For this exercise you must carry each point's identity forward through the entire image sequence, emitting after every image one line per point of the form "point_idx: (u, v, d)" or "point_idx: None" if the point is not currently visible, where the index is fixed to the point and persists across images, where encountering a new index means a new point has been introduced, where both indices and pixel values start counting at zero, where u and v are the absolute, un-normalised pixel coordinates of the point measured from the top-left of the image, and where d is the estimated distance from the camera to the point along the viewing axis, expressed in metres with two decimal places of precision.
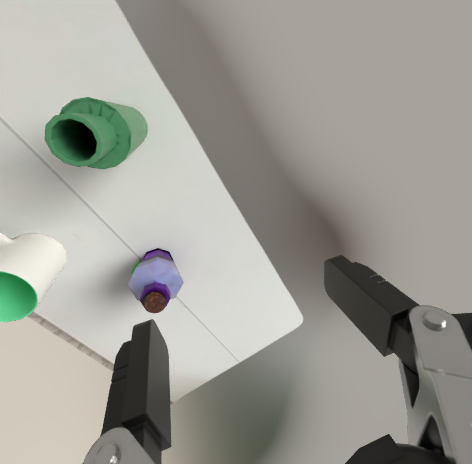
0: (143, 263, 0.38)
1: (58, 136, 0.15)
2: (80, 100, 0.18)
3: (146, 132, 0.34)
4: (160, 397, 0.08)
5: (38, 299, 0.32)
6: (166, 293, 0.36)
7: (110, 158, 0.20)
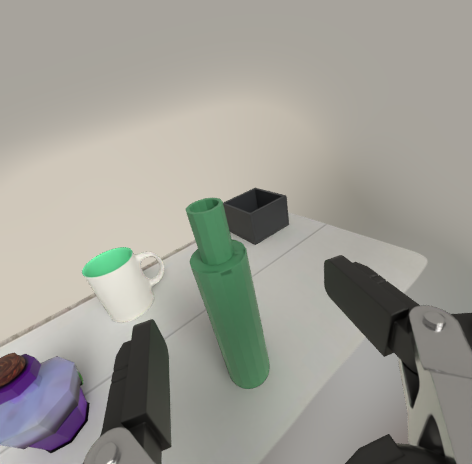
0: (76, 377, 0.28)
1: None
2: (242, 245, 0.23)
3: (244, 380, 0.28)
4: (160, 397, 0.08)
5: (92, 278, 0.37)
6: (4, 390, 0.23)
7: (198, 263, 0.21)
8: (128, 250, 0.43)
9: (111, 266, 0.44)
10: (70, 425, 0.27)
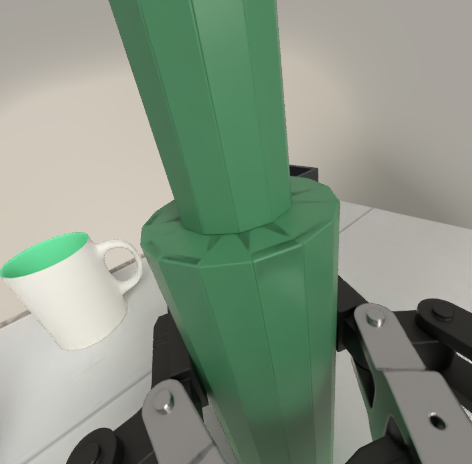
0: None
1: None
2: (313, 182, 0.07)
3: None
4: None
5: (10, 280, 0.22)
6: None
7: (168, 233, 0.06)
8: (84, 236, 0.27)
9: (61, 262, 0.29)
10: None
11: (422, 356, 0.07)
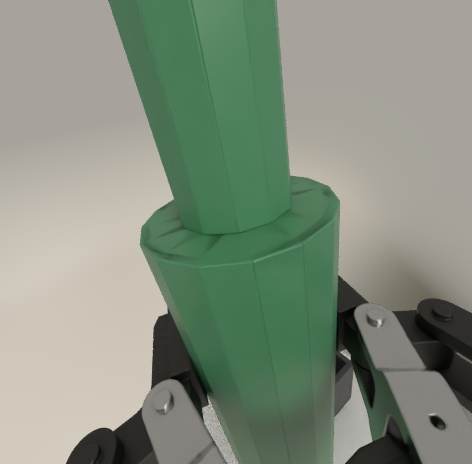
0: None
1: None
2: (313, 181, 0.07)
3: None
4: None
5: None
6: None
7: (167, 233, 0.06)
8: None
9: None
10: None
11: (422, 356, 0.07)
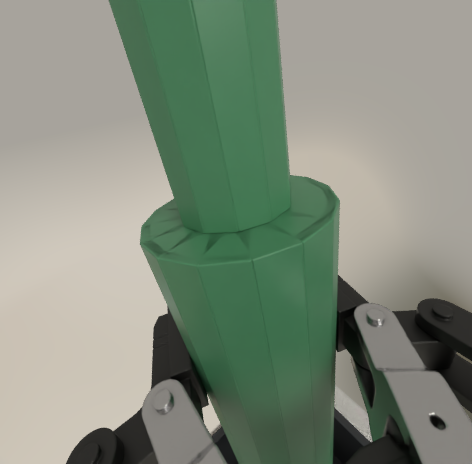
0: None
1: None
2: (313, 181, 0.07)
3: None
4: None
5: None
6: None
7: (167, 232, 0.06)
8: None
9: None
10: None
11: (422, 356, 0.07)
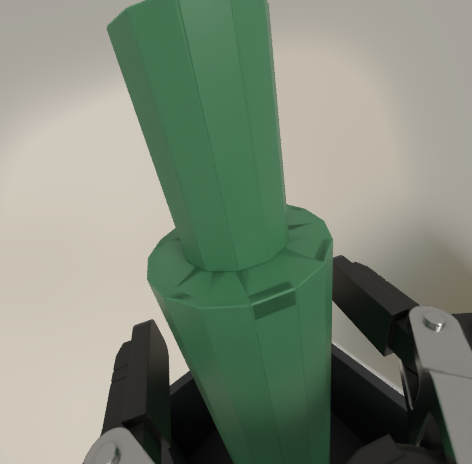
0: None
1: None
2: (309, 214, 0.07)
3: None
4: (160, 397, 0.08)
5: None
6: None
7: (172, 267, 0.06)
8: None
9: None
10: None
11: None
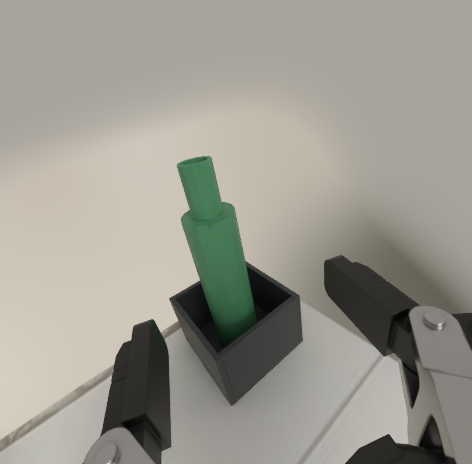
0: None
1: None
2: (231, 205, 0.23)
3: None
4: (160, 397, 0.08)
5: None
6: None
7: (188, 220, 0.22)
8: None
9: None
10: None
11: None
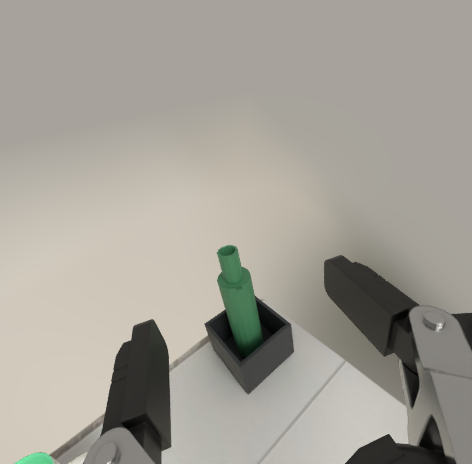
0: None
1: (229, 252, 0.37)
2: (248, 271, 0.38)
3: (248, 355, 0.43)
4: (160, 397, 0.08)
5: None
6: None
7: (222, 282, 0.37)
8: (51, 463, 0.28)
9: None
10: None
11: None
